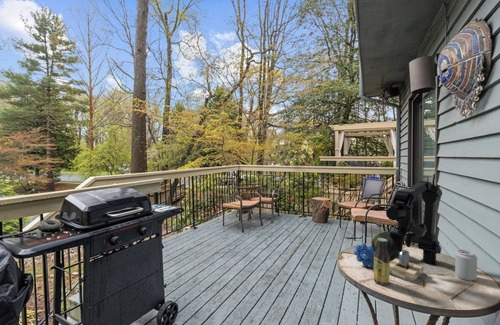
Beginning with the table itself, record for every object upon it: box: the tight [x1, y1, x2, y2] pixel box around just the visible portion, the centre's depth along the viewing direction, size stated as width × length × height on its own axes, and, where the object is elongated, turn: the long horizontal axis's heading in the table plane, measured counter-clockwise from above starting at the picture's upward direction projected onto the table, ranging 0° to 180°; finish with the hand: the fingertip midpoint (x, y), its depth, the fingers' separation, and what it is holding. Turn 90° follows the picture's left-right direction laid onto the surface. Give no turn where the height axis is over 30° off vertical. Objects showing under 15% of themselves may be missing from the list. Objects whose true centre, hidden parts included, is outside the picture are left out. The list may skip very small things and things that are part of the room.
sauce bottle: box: [372, 238, 391, 286], centre depth 111 cm, size 6×6×20 cm
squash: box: [370, 230, 399, 259], centre depth 140 cm, size 14×15×15 cm
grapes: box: [353, 242, 375, 268], centre depth 126 cm, size 12×7×12 cm, turn 59°
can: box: [454, 249, 478, 282], centre depth 114 cm, size 8×8×12 cm
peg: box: [398, 249, 410, 270], centre depth 118 cm, size 4×4×10 cm
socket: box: [389, 257, 428, 286], centre depth 119 cm, size 12×15×4 cm
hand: (404, 249), depth 118 cm, fingers open, 9 cm apart
